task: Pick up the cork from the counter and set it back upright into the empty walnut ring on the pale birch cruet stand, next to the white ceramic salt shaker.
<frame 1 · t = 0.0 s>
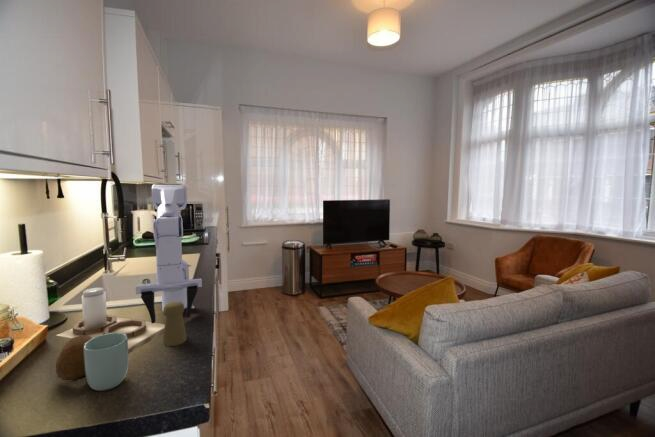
hand: (171, 319, 76), 11 cm above the counter, tool pointing down, fingers open, 7 cm apart
potato: (82, 372, 72), on the counter
cup: (108, 385, 67), on the counter
cruet stand: (114, 334, 89), on the counter
salt shaker: (95, 326, 91), point 1 cm above the counter, touching cruet stand
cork: (175, 341, 87), on the counter
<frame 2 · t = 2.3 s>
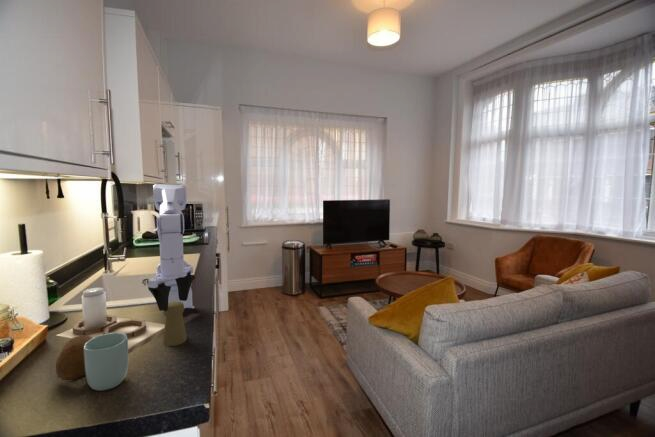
hand: (173, 305, 85), 10 cm above the counter, tool pointing down, fingers open, 7 cm apart
nothing on the counter moved.
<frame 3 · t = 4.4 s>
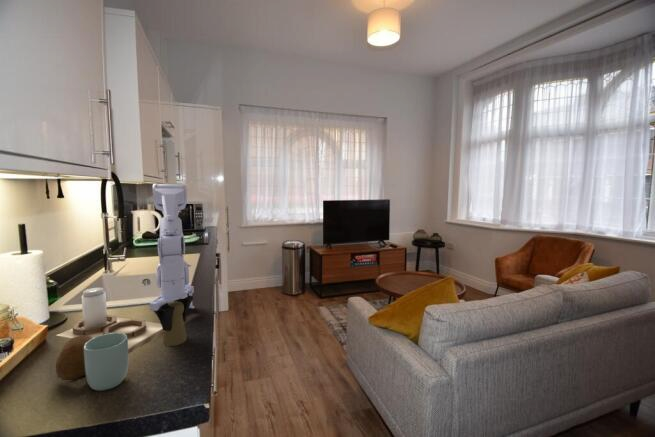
hand: (174, 325, 86), 4 cm above the counter, tool pointing down, fingers closed on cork, 5 cm apart
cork: (175, 341, 87), on the counter, touching gripper
everything else where it was.
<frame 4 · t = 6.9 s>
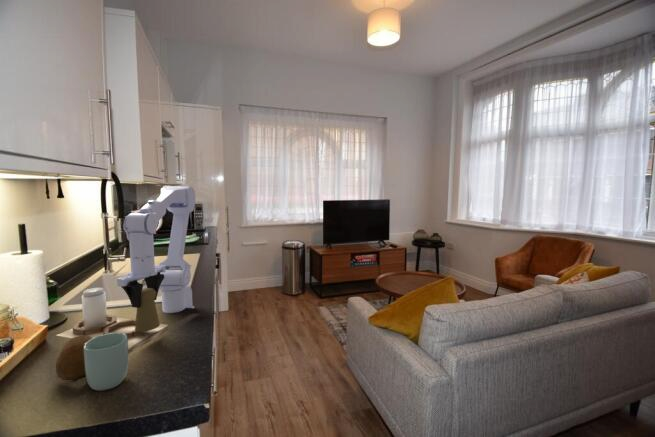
hand: (144, 303, 87), 10 cm above the counter, tool pointing down, fingers closed on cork, 5 cm apart
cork: (147, 327, 87), point 3 cm above the counter, touching gripper
everything else where it was.
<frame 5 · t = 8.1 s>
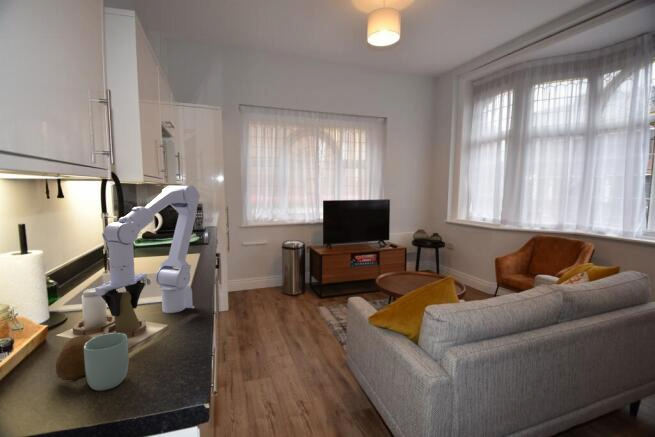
hand: (124, 311, 87), 8 cm above the counter, tool pointing down, fingers closed on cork, 5 cm apart
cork: (128, 330, 88), point 2 cm above the counter, touching cruet stand, gripper
everything else where it was.
when the fingers open (7 cm above the counter, at t = 8.8 s): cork stays where it is, resting on cruet stand.
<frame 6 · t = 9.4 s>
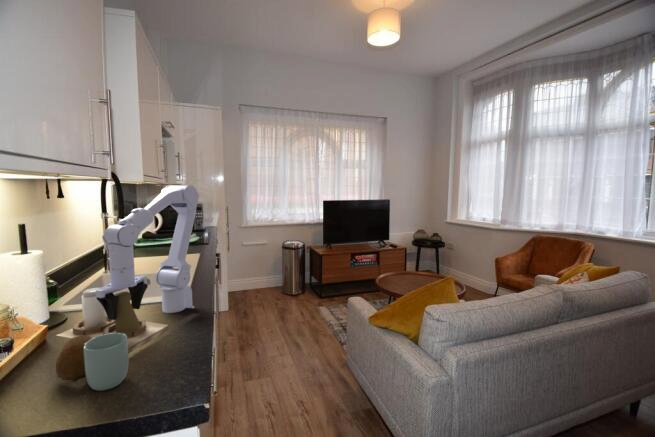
hand: (124, 313, 88), 7 cm above the counter, tool pointing down, fingers open, 7 cm apart
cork: (128, 330, 88), point 2 cm above the counter, touching cruet stand
everything else where it was.
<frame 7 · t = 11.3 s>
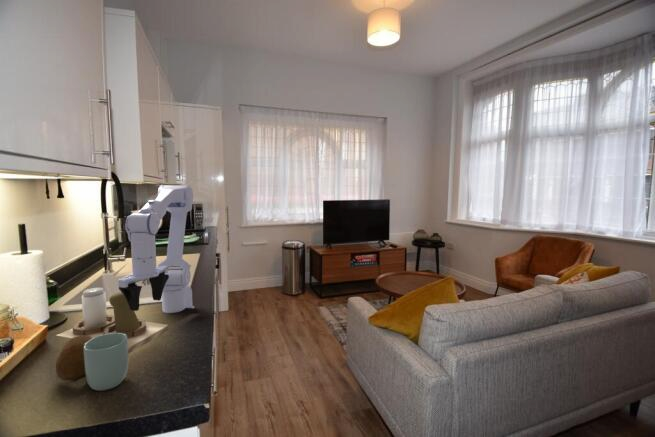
hand: (146, 304, 85), 10 cm above the counter, tool pointing down, fingers open, 7 cm apart
nothing on the counter moved.
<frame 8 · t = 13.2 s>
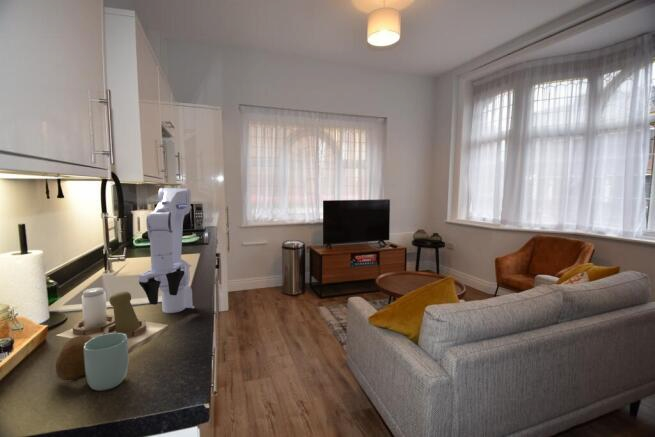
hand: (163, 299, 90), 10 cm above the counter, tool pointing down, fingers open, 7 cm apart
nothing on the counter moved.
at the end: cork 1.2 cm from the target spot on the cruet stand, point 2.1 cm above the cruet stand's base; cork tilted 15°; the gripper is holding nothing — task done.
